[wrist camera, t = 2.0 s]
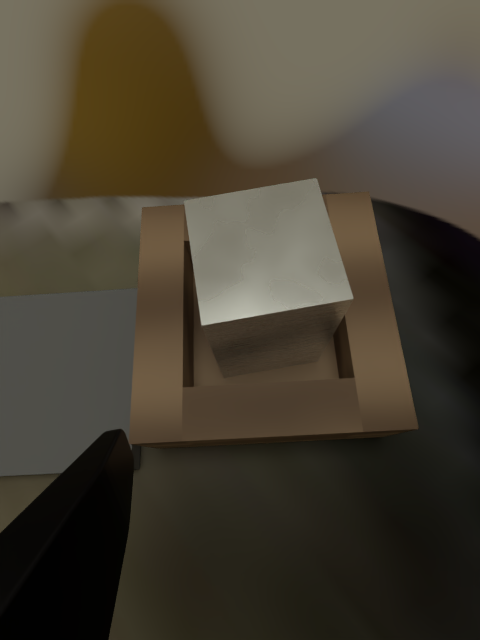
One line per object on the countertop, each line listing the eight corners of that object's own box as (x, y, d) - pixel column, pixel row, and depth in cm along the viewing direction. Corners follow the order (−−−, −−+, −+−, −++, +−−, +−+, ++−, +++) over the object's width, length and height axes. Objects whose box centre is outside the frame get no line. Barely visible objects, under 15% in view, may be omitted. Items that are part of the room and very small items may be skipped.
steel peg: (317, 361, 20) (353, 298, 12) (223, 378, 20) (201, 325, 12) (296, 277, 21) (316, 178, 14) (210, 292, 21) (184, 200, 14)
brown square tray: (381, 436, 20) (418, 429, 15) (158, 448, 20) (128, 444, 16) (348, 243, 24) (369, 191, 20) (164, 255, 25) (142, 207, 20)
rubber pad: (139, 469, 20) (130, 469, 19) (-44, 478, 20) (-66, 479, 19) (147, 298, 24) (140, 288, 22) (-9, 308, 24) (-25, 298, 23)
